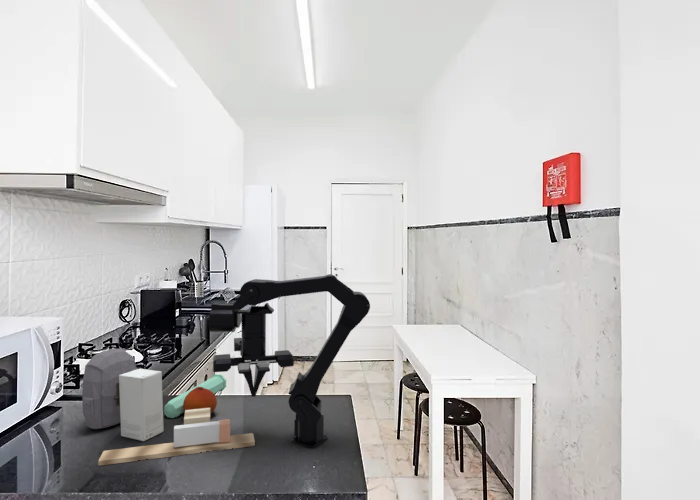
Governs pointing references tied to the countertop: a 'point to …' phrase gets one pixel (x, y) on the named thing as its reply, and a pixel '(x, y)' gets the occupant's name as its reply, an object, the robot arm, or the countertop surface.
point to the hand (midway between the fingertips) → (253, 396)
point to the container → (176, 404)
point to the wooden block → (197, 416)
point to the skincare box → (141, 404)
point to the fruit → (200, 399)
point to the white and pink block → (202, 433)
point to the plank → (171, 450)
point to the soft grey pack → (104, 387)
